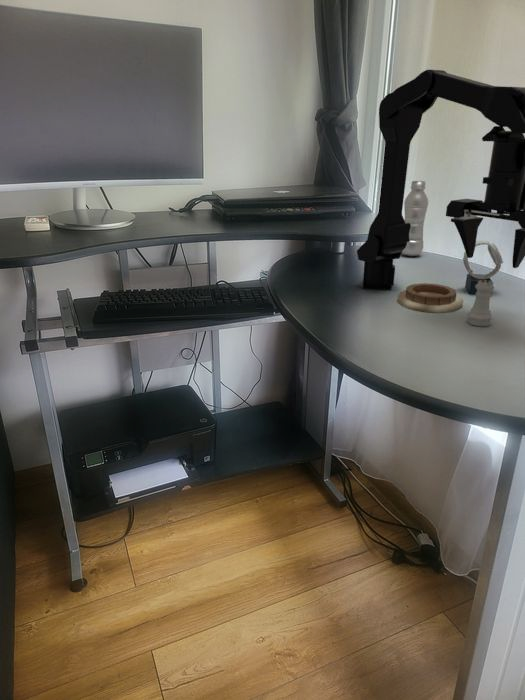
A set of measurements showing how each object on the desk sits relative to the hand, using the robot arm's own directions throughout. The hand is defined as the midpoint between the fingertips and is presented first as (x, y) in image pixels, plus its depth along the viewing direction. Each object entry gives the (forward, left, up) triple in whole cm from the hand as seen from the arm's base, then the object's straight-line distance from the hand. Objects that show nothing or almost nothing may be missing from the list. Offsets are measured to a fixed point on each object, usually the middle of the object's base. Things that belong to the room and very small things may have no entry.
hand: (491, 262), depth 92 cm
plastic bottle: (-11, +52, -12) cm, 54 cm away
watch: (+2, +20, -12) cm, 23 cm away
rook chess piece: (-1, -1, -12) cm, 12 cm away
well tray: (-9, +10, -11) cm, 17 cm away
